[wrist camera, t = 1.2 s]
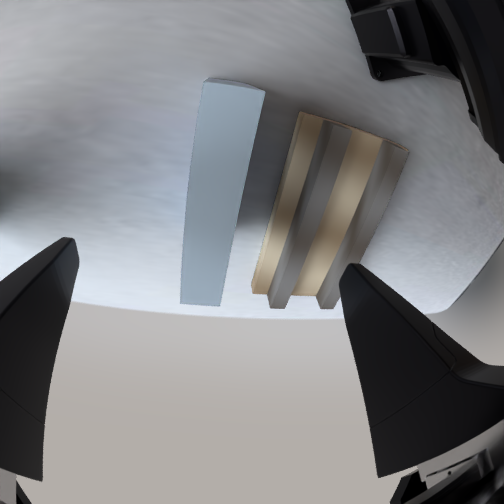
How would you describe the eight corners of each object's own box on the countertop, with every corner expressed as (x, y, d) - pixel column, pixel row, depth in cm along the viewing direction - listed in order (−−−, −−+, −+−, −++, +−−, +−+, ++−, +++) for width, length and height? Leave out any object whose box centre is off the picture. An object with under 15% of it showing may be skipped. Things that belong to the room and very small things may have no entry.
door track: (299, 111, 14) (313, 118, 12) (400, 145, 16) (421, 157, 14) (251, 285, 23) (255, 307, 21) (335, 288, 24) (344, 308, 22)
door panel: (208, 77, 13) (203, 81, 7) (244, 82, 13) (265, 91, 8) (187, 226, 18) (180, 303, 13) (216, 229, 19) (219, 306, 13)
